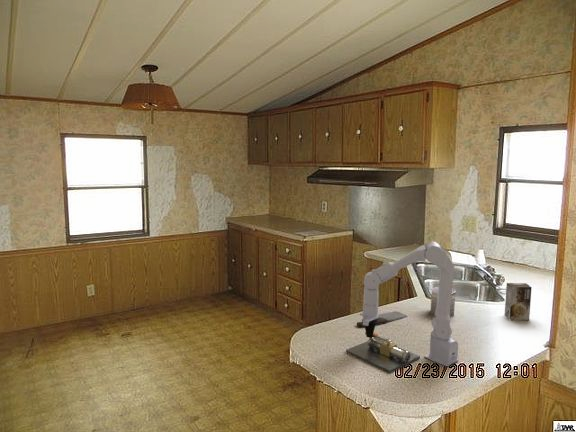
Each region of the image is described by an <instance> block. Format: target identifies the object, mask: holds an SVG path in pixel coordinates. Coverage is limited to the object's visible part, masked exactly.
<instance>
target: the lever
mask: <svg viewBox="0 0 576 432" xmlns="http://www.w3.org/2000/svg"><path fill="white" fill-rule="evenodd" d="M365 336H366V331H365ZM373 338H377V339H380V340H382V341H385V342H386V343H391V342H392V338H386V337H383V336H381V335H379V334H378V333H375V332H374V333H373ZM392 343H393V342H392Z"/></svg>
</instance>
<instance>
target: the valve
mask: <svg viewBox="0 0 576 432" xmlns="http://www.w3.org/2000/svg"><path fill="white" fill-rule="evenodd" d="M346 352H347V354H348V353H349V355H350V354H351V356H353V357H355V358H356V359H359V360H360V361H362V362H366V363H367V364H369V365H371V366H374V367H376V368H378V369H379V370H382V371H384V372H386V373H387V374H391V373H393V372H396V371H398V370H400V369H402V368H404V367H406V366H408V365H410V364H412V363H414V362H416V361H418V360H420V359H421V356H420V355H418V354H417V353H416V354H415V353H413V352H411V351H408V350H406V349H404V348H401V347H398V344H396V343H394V342H391V343H386V341H383V340H380V339H378V338H373V337H372V338H369V337H368V340H367V341H365V342H362V343H359V344H357V345H354V346H352V347H349V348H347V349H346V350H345V353H346Z"/></svg>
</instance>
